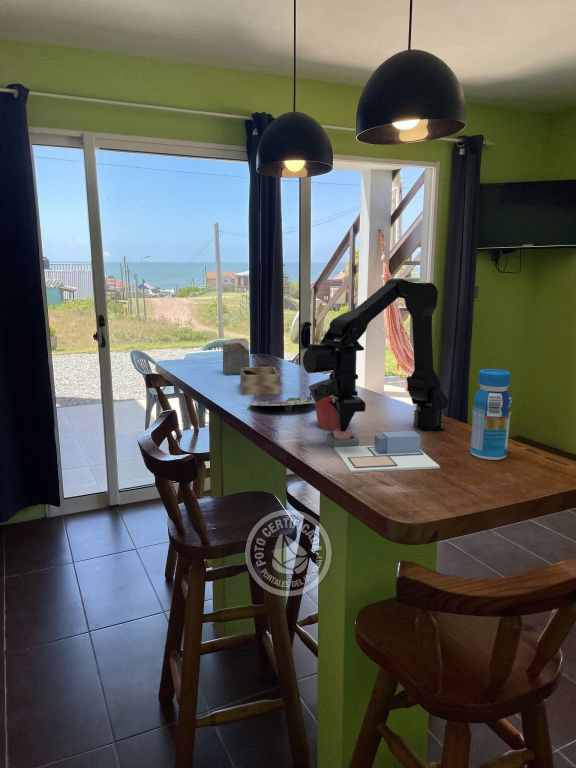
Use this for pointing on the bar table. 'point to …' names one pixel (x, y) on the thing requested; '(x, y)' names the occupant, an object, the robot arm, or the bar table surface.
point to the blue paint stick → (397, 442)
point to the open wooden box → (260, 381)
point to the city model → (285, 402)
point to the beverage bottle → (491, 415)
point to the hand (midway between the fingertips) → (342, 431)
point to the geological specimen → (235, 355)
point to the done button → (342, 434)
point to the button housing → (342, 441)
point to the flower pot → (326, 414)
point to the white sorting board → (382, 460)
